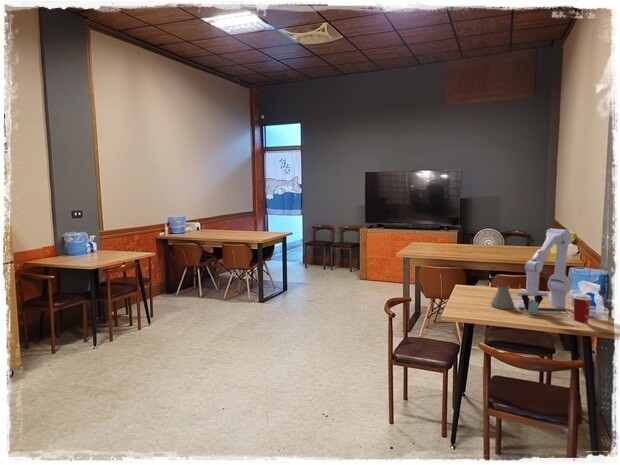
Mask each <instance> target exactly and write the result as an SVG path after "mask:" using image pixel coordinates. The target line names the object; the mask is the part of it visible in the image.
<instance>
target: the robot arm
mask: <svg viewBox="0 0 620 465" xmlns="http://www.w3.org/2000/svg"><path fill="white" fill-rule="evenodd" d="M545 236H546V238H545V241H544V242H543V244H542V245H541V248H540V249H537V250H536V252H535V253H534V254H533V256H532V257H531V258H530V260H527V261H526V262H525V265H524V270H525V275H526V286H525V290H520V291H517V290H516V296H517V297H520V298H522V301H523V305H524V307H525V309H526V310H528V302H529V298H530V297H533V298H534V300H535V301H536V302H538V307H539V306H540V304H541V302H542V301H543V300H544V297H545V298H547V303H548V304H549V306H551V307H552V308H565V309H566V311H569V309H568V308H567V307H566V303H567V302H566V301H567V294H568V293H570V291H571V288H572V286H571V279H570V278H569V277H568V276H566V270H567V259H568V258H567V257H568V248H569V245H570V244H571V238H572V233H571V232H570V230H569V229H561V228H552V227H551V228H548V230H547V231H546V233H545ZM554 245H556V252H555V262H554V271H553V272H554V273H553V274H552V275H550V276H549V278H548V281H547V288H548V290H549V293H548V292H547V291H539V290H540V287H539V286H540V273H541V272H542V271H543V269H544V263H545V261H546V260H547V258H548V256H549V254H548V252H549V251H550V250H551V249H552V248H553V247H554Z"/></svg>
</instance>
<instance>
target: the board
mask: <svg viewBox="0 0 620 465" xmlns="http://www.w3.org/2000/svg"><path fill="white" fill-rule="evenodd" d="M524 308H525V306H518V308H517V309H518V310H519V311H520V312H521V313H523V315H524V316H530V317H531V316H533V317H534V316H535V317H561V318H563V317H564V318H574V315H572V314H571V313H569V312H567V310H566V309H565V308H566V307H565V308H559V307H538V314H529V313H527V312H526V311H525V310H524Z"/></svg>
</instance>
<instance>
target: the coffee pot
mask: <svg viewBox="0 0 620 465" xmlns="http://www.w3.org/2000/svg"><path fill="white" fill-rule="evenodd" d="M491 279H492V280H493V282H494V283H495V285H496V287H497V290H496V292H495V294H494V296H493V298H492V300H491V303H490V304H491V306H492V307H493V308H495V309H498V310H513V309H514V307H515V303H514V301H513V299H512V295H511V294H510V291H509V290H510V288H511V286H510V285H505V284H499V283H498V280H496V278H495V276H491Z"/></svg>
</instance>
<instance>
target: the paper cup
mask: <svg viewBox="0 0 620 465" xmlns="http://www.w3.org/2000/svg"><path fill="white" fill-rule="evenodd" d="M572 298H573V316H574V317H573V320H574V321H576V322H577V323H586V324H588V322H589V316H590V310H591V309H590V307H591V303H592V300H593V298H592V296H591V295H589V294H585V293H575V294H574V295H573V297H572Z"/></svg>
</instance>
